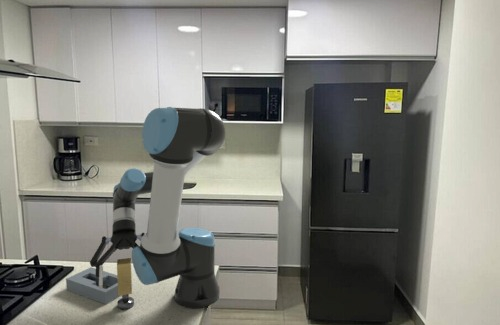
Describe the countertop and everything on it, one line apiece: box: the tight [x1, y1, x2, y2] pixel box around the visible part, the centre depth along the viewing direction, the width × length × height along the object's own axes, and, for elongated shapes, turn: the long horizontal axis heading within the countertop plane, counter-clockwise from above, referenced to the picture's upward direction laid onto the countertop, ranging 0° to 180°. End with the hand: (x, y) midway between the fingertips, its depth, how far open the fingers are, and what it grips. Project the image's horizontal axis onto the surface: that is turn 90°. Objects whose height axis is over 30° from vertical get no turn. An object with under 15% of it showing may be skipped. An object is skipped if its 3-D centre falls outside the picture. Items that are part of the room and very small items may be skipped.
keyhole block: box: [65, 266, 122, 305], centre depth 115 cm, size 20×10×4 cm, turn 64°
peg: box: [116, 257, 135, 311], centre depth 105 cm, size 5×5×15 cm
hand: (124, 283), depth 104 cm, fingers open, 13 cm apart
